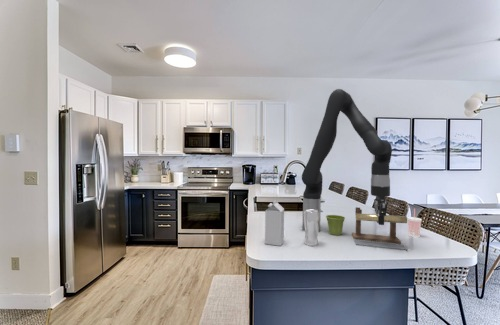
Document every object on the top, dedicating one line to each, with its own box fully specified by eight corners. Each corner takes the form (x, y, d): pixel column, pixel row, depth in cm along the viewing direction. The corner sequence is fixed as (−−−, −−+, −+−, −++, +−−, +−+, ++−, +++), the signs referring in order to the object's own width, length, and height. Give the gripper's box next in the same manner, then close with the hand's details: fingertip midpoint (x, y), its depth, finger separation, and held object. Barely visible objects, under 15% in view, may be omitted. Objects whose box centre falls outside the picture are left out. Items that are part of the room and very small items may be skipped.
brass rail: (356, 220, 107) (356, 214, 107) (355, 219, 110) (355, 212, 110) (407, 224, 101) (407, 217, 101) (405, 222, 104) (405, 215, 104)
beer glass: (310, 247, 102) (311, 212, 102) (300, 242, 108) (300, 209, 108) (322, 245, 105) (323, 211, 105) (311, 240, 111) (312, 208, 111)
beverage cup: (415, 238, 116) (415, 209, 116) (403, 234, 122) (404, 207, 122) (424, 237, 118) (425, 209, 118) (413, 233, 124) (413, 207, 124)
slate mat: (355, 245, 106) (355, 243, 106) (354, 240, 111) (354, 239, 111) (407, 250, 100) (407, 249, 100) (402, 245, 106) (402, 244, 106)
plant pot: (321, 231, 125) (322, 215, 125) (336, 230, 128) (336, 214, 128) (333, 237, 116) (334, 219, 116) (349, 235, 120) (349, 218, 120)
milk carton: (283, 241, 110) (284, 200, 110) (280, 246, 103) (281, 202, 103) (268, 239, 112) (269, 199, 112) (264, 244, 105) (265, 201, 105)
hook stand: (353, 239, 114) (353, 209, 114) (351, 234, 121) (352, 206, 120) (401, 243, 108) (401, 212, 108) (396, 239, 115) (397, 209, 115)
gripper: (368, 183, 113) (368, 219, 113) (374, 186, 100) (374, 227, 100) (385, 183, 111) (385, 220, 111) (394, 186, 98) (394, 228, 98)
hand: (380, 223), depth 106 cm, fingers closed on brass rail, 3 cm apart
